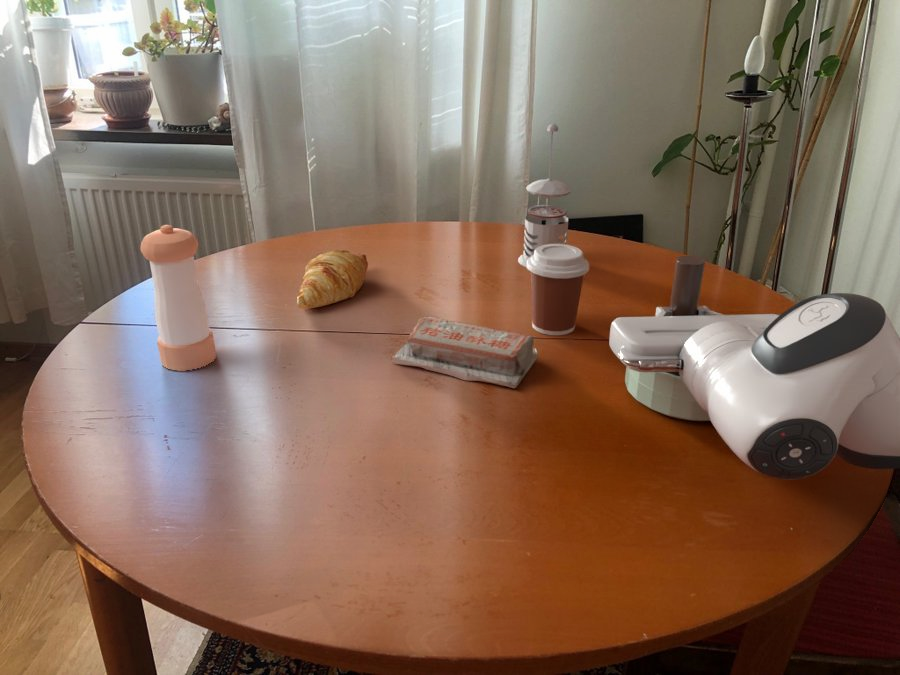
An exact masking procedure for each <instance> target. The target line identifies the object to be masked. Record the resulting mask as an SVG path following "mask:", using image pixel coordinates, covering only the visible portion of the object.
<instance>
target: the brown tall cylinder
mask: <svg viewBox="0 0 900 675" xmlns="http://www.w3.org/2000/svg"><path fill="white" fill-rule="evenodd" d="M705 266H706V261H705V260H704V259H703V258H701V257H699V256H694V255H681V256H678V257H677V258H676V259H675V267H674V273H673V281H672V287H671V294H670V301H669V307H670V309H671V310H672V311H673V315H672V316H696V315H697V309H698V306H699V302H700V297H701V290H702V284H703V277H704V271H705ZM667 373H670V374H673V375H676V376H680V374H679V372H667Z"/></svg>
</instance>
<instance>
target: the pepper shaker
mask: <svg viewBox="0 0 900 675" xmlns="http://www.w3.org/2000/svg"><path fill="white" fill-rule="evenodd" d="M198 248H199V241H198V239H197V237H195V235H194V234H193V233H192V232H191V231H189V230H186V229H182V228H178V227H173V226H172V225H170V224H164V225H162V226H160V228H159V229H156V230H153V231H152V232H150V233H148V234H146V235H145V236H143V239H142V241H141V243H140V249H139V250H140V252H141V254H142V255H143V257H144V258H145V259H146V260H147V261H149V265H150V266H149V267H150V272H151V277H152V283H153V289H154V319H155V324H156V329H157V332H158V337H157V341H156V344H157V350H158V354H159V358H160V364H161V363H162V364H161V365H163V366H164V367H166V368H168V369H172V370H178V371H177V372H187V371H186V370H190V371H193V370H192V369H195V370H198V369H197V368H199V369H202V368H204V367H207V366H209V365H210V364H212V363H214V361H215V360H216V358H217V350H216V343H215V338H214V333H213V331H212V330H211V329H210V323H209V316H208V314H209V313H208V308H207V306H206V305H207V304H206V302H205V300H204V297H203V294H202V290H201V288H200V284H199V279H198V274H197V273H198V272H197V268H196V261H195V255H196V254H197V253H198ZM214 359H215V360H214ZM211 362H212V363H211ZM209 363H210V364H209ZM208 364H209V365H208ZM206 365H207V366H206ZM163 366H162V367H163ZM203 366H204V367H203ZM164 367H163V368H164ZM201 367H202V368H201ZM166 368H165V369H166ZM168 369H167V370H168ZM172 370H171V371H172Z"/></svg>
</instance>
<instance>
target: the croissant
mask: <svg viewBox="0 0 900 675" xmlns="http://www.w3.org/2000/svg"><path fill="white" fill-rule="evenodd" d="M368 267H369V262H368V260H367V255H366V254H363V253H351V252H350V251H349V250H329V251H325V252H322V253H321V254H318V255H316V256H314V257H313V258H312V259H311V260H309V262H308V263H307V265H306V266H305V268H304V270H305V274H304V275H303V276H302V284H301V285H300V287H299V294H298V295H297V296H296V300H297V301H296V305H297V306H298V307H299V308H300V309H305V310H306V309H308V310H309V309H314V308H322V307H325V306H328V305H332V304H334V303H338V302H341V301H344V300H347V299H349V298H353V297H354V296H355V295H356V293H357V292H358V291H359V290H360V289H361V287H362V286H363V284H364V281H365V280H364V279H365V277H366V274H367V270H368Z"/></svg>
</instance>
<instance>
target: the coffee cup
mask: <svg viewBox="0 0 900 675" xmlns="http://www.w3.org/2000/svg"><path fill="white" fill-rule="evenodd" d="M526 269H527V270H528V271H530V286H531V288H530V289H531V316H532V317H531V318H532V319H531V320H532V321H531V326H532V329H534V330H535V331H536V332H537V333H541V334H542V335H549V336H563V335H568V334H570V333H572V332H574V330H575V328H576V320H577V316H578V310H579V304H580V298H581V293H582V287H583V281H584V276H585V275H587V273H588V272H589V271H590V264H589V261H588V260H587V259H586V258H585V257H584V252H583V251H582V249H580V248H578V247H577V246H574V245H570V244H566V245H565V243H564V244H563V243H558V244H547V245H542V246H539V247H538V248H536V249H535V250H534V255H533V256H531V257H530V258H529V259H528V260H527V267H526Z"/></svg>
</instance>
